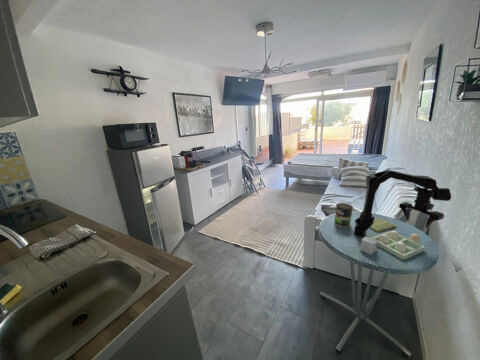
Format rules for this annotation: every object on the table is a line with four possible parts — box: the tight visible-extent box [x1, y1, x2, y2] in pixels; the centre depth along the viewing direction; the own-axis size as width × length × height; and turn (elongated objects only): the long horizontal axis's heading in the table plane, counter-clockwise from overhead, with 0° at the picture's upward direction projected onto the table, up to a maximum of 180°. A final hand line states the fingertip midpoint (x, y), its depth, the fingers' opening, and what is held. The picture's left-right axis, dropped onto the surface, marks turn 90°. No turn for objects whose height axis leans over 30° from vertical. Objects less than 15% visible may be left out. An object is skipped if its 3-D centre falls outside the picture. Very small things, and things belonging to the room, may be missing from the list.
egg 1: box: [379, 233, 389, 245], centre depth 115 cm, size 4×4×6 cm
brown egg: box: [409, 233, 421, 244], centre depth 116 cm, size 4×4×6 cm
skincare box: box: [359, 235, 378, 255], centre depth 111 cm, size 6×6×7 cm
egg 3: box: [395, 242, 406, 254], centre depth 108 cm, size 4×4×6 cm
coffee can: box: [334, 202, 354, 229], centre depth 139 cm, size 10×10×14 cm
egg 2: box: [389, 230, 400, 242], centre depth 118 cm, size 4×4×6 cm
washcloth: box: [368, 217, 397, 233], centre depth 136 cm, size 13×18×3 cm
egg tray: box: [371, 230, 426, 261], centre depth 114 cm, size 18×18×3 cm
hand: (416, 224), depth 115 cm, fingers open, 9 cm apart
